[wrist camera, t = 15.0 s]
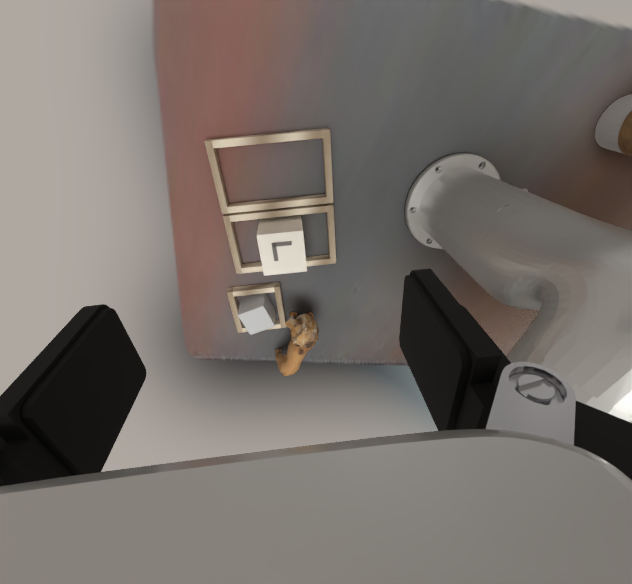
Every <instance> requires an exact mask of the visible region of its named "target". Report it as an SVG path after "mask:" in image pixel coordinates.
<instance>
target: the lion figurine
mask: <svg viewBox="0 0 632 584" xmlns="http://www.w3.org/2000/svg"><path fill="white" fill-rule="evenodd" d="M289 315H290V318H289V319H288V321H286V322H285V325H286V326H287V327H289V328H290V331H291V340H290V343H289V346H288V349H287V354H286V355H285V354H281V353H282V350H281V349H280V348H277V349H276V350H275V354H276V358H275V359H276V361H277V362H278V366H279V370H280V372H282V374H283V375H284V376H288V375H292V374H294V373H295V372H297V371H298V369H299V367H300V364H301V362H302V360H303V358H304V356H305V355H306V353H307V351H308V350H310V349H311V348H312V347H313V346H314V345H315V344H316V341H317V340H318V333H319V329H318V325H317V322H316V321H315V320H314V319H313V317H314V315H313V313H312V312H308V313H307V314H301V315H299V316H298V317H297V313H296V312H291V313H290V314H289Z"/></svg>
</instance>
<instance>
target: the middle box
mask: <svg viewBox="0 0 632 584" xmlns="http://www.w3.org/2000/svg"><path fill="white" fill-rule="evenodd" d="M323 212H327V229H328V246H329V254H328V255H319V256H309V257H306V266H315V265H324V264H334V263H336V250H335V228H334V206H333V203H327V204H317V205H307V206H297V207H287V208H277V209H268V210H258V211H248V212H238V213H228V214H224V215H223V220H224V224H225V228H226V232H227V236H228V240H229V245H230V249H231V253H232V257H233V261H234V265H235V269H236V273H237V274H240V273H250V272H259V271H263V268H262V262H253V263H243V264H242V260H241V256H240V251H239V247H238V242H237V238H236V234H235V229H234V225H233V222H234V221H244V220H254V219H264V218H273V217H283V216H293V215H303V214H313V213H323Z"/></svg>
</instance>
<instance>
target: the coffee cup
mask: <svg viewBox="0 0 632 584" xmlns="http://www.w3.org/2000/svg"><path fill="white" fill-rule="evenodd" d="M595 140H596V142H597V144H598V145H599V146H601V147H603V148H605V149H609V150H612V151H616V152H619V153H623V154H626V155H628V156H631V157H632V94H630V95H626V96H623V97H621V98H619V99H617V100H616V101H614V102H613V103H612V104H611V105H610V106H609V107H608V108H607V109H606V110H605V111H604V112H603V114H602V115H601V117H600V119H599V120H598V123H597V125H596V129H595Z"/></svg>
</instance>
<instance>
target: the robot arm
mask: <svg viewBox="0 0 632 584" xmlns="http://www.w3.org/2000/svg"><path fill="white" fill-rule="evenodd" d="M479 164H480V165H479ZM437 167H438V168H437ZM436 168H437V170H435V169H436ZM411 207H413V208H412V209H410V208H411ZM405 219H406V223H407V226H408V228H409V230H410V232H411V233H412V235H413V236H414V237H415V238H416V239H417V240H418V241H419V242H420V243H422V244H424V245H425V246H428V247H431V248H435V249H444V250H445V251H446V252H447V253H448V254H449V255H450V256H451V257H452V258H453V259H454V260H455V261H456V262H457V263H458V264H459V265H460V266H461V267H462V268H463V269H464V270H465V271H466V272H467V273H468V274H469V275H470V276H471V277H472V278H473V279H474V280H475V281H476V282H477V283H478V284H479V285H480V286H481V287H482V288H483V289H484V290H485V291H486V292H487V293H488V294H489V295H490V296H492V297H493V298H494V299H496V300H497V301H499V302H501V303H503V304H506V305H508V306H511V307H515V308H521V309H529V310H540V311H539V313H538V314H537V316H536V317H535V318H534V320H533V321H532V323H531V324H530V325H529V326H528V329H527V330H526V332H525V333H524V334H523V336H522V337H521V338H520V339H519V341H518V342H517V343H516V344H515V346H514V347H513V348H512V349H511V351H510V352H509V353H508V355H507V356H505V355H504V354H503V352H502V351H501V350H500V349H499V348H498V346H497V345H496V344H495V343H494V342H493V341H492V339H491V338H490V337H489V336H488V335H487V333H486V332H485V331H484V330H483V329H482V327H481V326H480V325H479V324H478V323H477V321H476V320H475V319H474V318H473V317H472V315H471V314H470V313H469V312H468V311H467V309H466V308H465V307H463V306H462V305H460V304H459V303H458V302H457V300H456V299H455V298H454V297H453V296H452V294H451V293H450V292H449V291H448V290H447V288H446V287H445V286H444V285H443V283H442V282H441V281H440V280H439V279H438V277H437V276H436V275H435V274H434V272H433V271H432V270H431V269H421V270H412V271H411V273H410V275H407V276H405V280H404V292H403V303H402V314H401V325H400V336H399V341H400V347H401V350H402V352H403V354H404V356H405V358H406V360H407V363H408V365H409V367H410V369H411V371H412V374H413V376H414V378H415V380H416V382H417V385H418V387H419V389H420V391H421V393H422V396H423V398H424V400H425V402H426V404H427V407H428V409H429V411H430V413H431V415H432V418H433V420H434V422H435V424H436V426H437V428H438V431H434V432H424V433H414V434H406V435H395V436H387V437H376V438H368V439H360V440H352V441H343V442H335V443H327V444H319V445H310V446H302V447H294V448H286V449H278V450H269V451H261V452H254V453H246V454H238V455H230V456H222V457H214V458H206V459H198V460H191V461H182V462H175V463H167V464H160V465H151V466H144V467H137V468H129V469H121V470H114V471H106V472H101V470H102V468H103V466H104V464H105V462H106V460H107V458H108V456H109V454H110V451H111V449H112V447H113V445H114V443H115V441H116V439H117V437H118V435H119V433H120V431H121V428H122V426H123V424H124V422H125V420H126V418H127V416H128V414H129V412H130V410H131V408H132V405H133V404H134V401H135V399H136V397H137V395H138V393H139V391H140V389H141V387H142V385H143V383H144V381H145V378H146V369H145V366H144V364H143V363H142V361H141V359H140V357H139V355H138V353H137V351H136V349H135V347H134V345H133V343H132V341H131V340H130V338H129V336H128V334H127V332H126V330H125V328H124V326H123V324H122V322H121V321H120V319H119V317H118V315H117V313H116V311H115V310H114V309H112V308H109V307H108V306H107V305H94V306H86V307H83V308H82V309H81V310H80V311H79V312H78V313H77V314H76V315H75V316H74V317H73V318H72V319H71V321H70V322H69V323H68V324H67V325H66V326H65V327H64V328H63V329H62V330H61V331H60V332H59V333H58V335H57V336H56V337H55V338H54V339H53V340H52V341H51V342H50V343H49V344H48V346H46V348H45V349H44V350H43V351H42V352H41V353H40V354H39V355H38V356H37V357H36V358H35V359H34V361H33V362H32V363H31V364H30V365H29V366H28V367H27V368H26V369H25V370H24V371H23V372H22V374H20V376H19V377H18V378H17V379H16V380H15V381H14V382H13V383H12V384H11V385H10V386H9V388H8V389H7V390H6V391H5V392H4V393H3V394H2V395H1V396H0V584H632V230H629V229H626V228H622V227H619V226H615V225H611V224H609V223H606V222H603V221H600V220H597V219H594V218H592V217H589V216H586V215H583V214H581V213H578V212H576V211H573V210H571V209H569V208H566V207H564V206H561V205H559V204H556V203H554V202H551V201H549V200H547V199H544V198H542V197H539V196H537V195H535V194H532V193H530V192H528V189H527V188H518V187H515V186H513V185H511V184H508V183H506V182H503V181H501V179H500V176H499V173H498V171H497V170H496V168H495V167H494V165H493V164H491V163H490V162H489V161H488V160H486V159H485V158H483V157H481V156H478V155H475V154H469V153H458V154H452V155H449V156H445V157H443V158H441V159H439V160H437V161H435V162H434V163H433V164H431V165H430V166H429V167H427V168H426V169H425V170H424V171H423V172H422V173H421V174H420V175H419V177H418V178H417V179H416V181H415V182H414V183H413V185H412V187H411V189H410V191H409V194H408V197H407V200H406V205H405ZM427 239H428V240H427Z"/></svg>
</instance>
